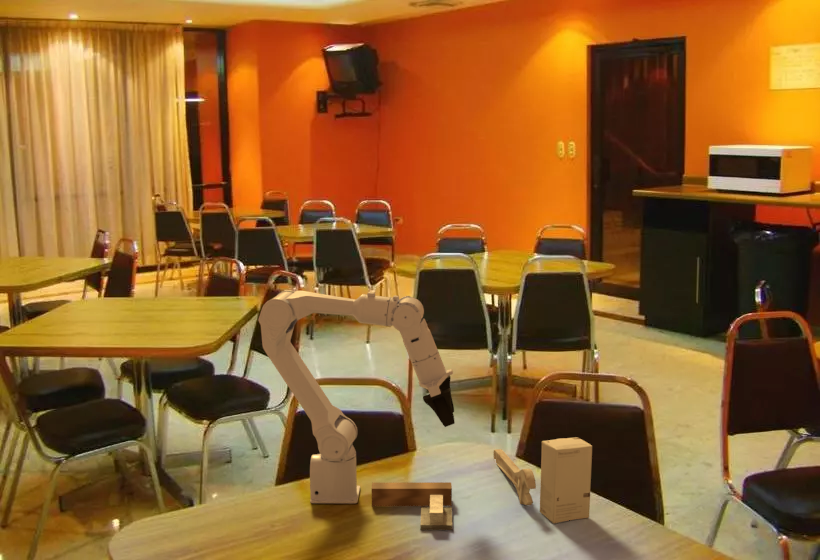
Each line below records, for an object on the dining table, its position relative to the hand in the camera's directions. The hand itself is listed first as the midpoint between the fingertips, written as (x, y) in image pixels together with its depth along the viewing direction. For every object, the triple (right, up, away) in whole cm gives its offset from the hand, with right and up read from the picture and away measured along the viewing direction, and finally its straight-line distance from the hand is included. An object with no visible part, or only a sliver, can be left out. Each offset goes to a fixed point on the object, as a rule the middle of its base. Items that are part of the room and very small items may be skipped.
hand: (449, 419), depth 178 cm
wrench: (+14, -16, +11) cm, 24 cm away
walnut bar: (-7, -18, +3) cm, 19 cm away
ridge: (-3, -19, -5) cm, 20 cm away
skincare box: (+22, -18, -3) cm, 29 cm away
